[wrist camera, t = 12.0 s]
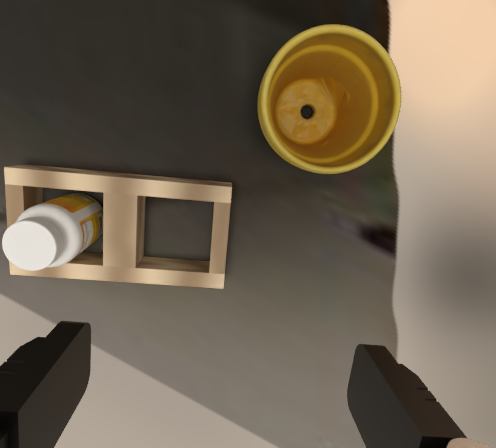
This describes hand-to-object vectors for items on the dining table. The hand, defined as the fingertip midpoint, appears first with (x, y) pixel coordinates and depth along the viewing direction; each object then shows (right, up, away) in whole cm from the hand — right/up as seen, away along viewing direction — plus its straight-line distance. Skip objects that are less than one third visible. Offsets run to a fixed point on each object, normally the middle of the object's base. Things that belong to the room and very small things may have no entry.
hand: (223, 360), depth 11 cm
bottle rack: (-11, +4, +26) cm, 29 cm away
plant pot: (+6, +15, +25) cm, 30 cm away
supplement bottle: (-16, +5, +26) cm, 31 cm away
